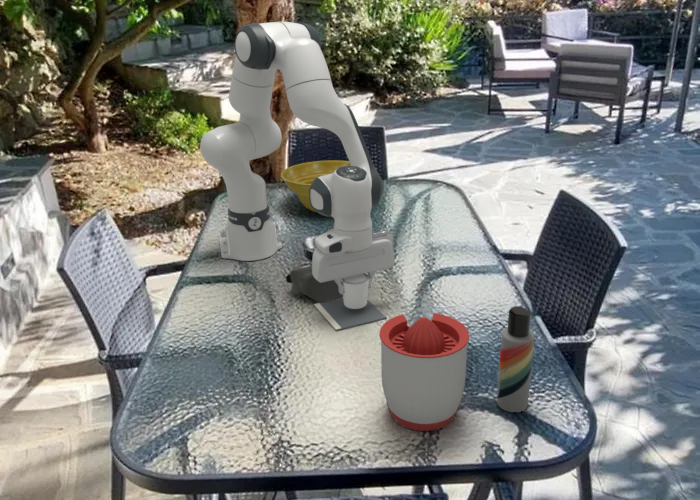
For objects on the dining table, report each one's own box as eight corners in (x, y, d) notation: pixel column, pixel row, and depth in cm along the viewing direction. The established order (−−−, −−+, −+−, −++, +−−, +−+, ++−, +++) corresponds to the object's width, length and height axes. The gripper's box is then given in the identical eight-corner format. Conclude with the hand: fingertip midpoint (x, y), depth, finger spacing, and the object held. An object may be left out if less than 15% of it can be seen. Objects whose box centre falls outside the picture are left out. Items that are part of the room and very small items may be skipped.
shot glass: (367, 311, 151) (367, 284, 148) (338, 309, 152) (338, 283, 149) (371, 297, 157) (371, 271, 154) (343, 295, 158) (343, 270, 155)
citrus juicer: (454, 381, 127) (458, 291, 119) (473, 438, 111) (479, 338, 103) (376, 384, 127) (375, 294, 119) (383, 442, 110) (382, 342, 103)
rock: (344, 274, 175) (343, 247, 172) (367, 288, 167) (367, 261, 164) (285, 291, 166) (283, 264, 163) (306, 308, 158) (304, 279, 155)
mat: (314, 305, 158) (313, 304, 158) (361, 295, 163) (361, 293, 163) (335, 331, 146) (335, 329, 146) (386, 318, 151) (386, 317, 151)
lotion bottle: (492, 396, 122) (499, 303, 114) (521, 394, 122) (530, 301, 115) (501, 414, 117) (509, 318, 109) (532, 412, 117) (541, 316, 109)
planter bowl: (271, 202, 236) (268, 166, 231) (349, 189, 248) (348, 155, 243) (302, 229, 209) (299, 189, 204) (388, 213, 221) (388, 175, 216)
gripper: (386, 225, 154) (387, 276, 160) (307, 239, 147) (311, 293, 152) (399, 233, 149) (399, 286, 154) (318, 249, 141) (320, 304, 147)
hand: (354, 290), depth 153 cm, fingers closed on shot glass, 5 cm apart
